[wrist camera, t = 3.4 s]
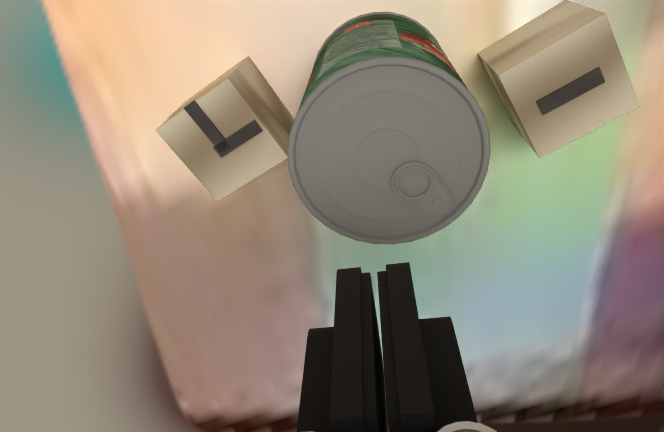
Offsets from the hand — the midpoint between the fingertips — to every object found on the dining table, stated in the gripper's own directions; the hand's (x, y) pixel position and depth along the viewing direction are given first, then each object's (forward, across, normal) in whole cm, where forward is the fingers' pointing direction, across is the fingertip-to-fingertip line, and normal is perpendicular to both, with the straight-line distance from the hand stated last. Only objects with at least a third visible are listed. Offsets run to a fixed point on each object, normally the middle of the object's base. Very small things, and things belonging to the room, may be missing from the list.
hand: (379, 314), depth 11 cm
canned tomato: (+20, -1, 0) cm, 20 cm away
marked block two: (+20, +8, +1) cm, 21 cm away
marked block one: (+20, -10, 0) cm, 22 cm away
